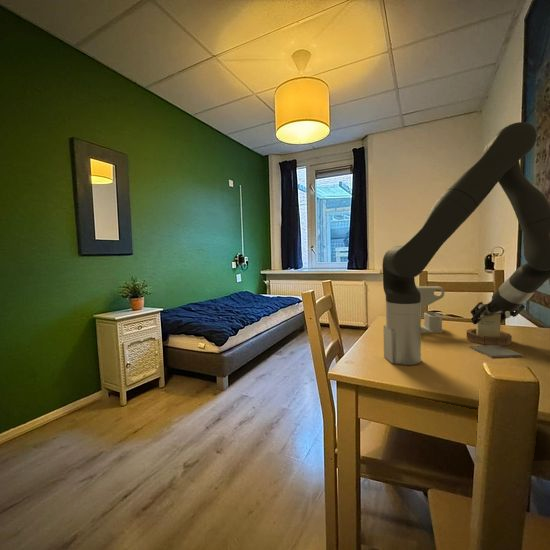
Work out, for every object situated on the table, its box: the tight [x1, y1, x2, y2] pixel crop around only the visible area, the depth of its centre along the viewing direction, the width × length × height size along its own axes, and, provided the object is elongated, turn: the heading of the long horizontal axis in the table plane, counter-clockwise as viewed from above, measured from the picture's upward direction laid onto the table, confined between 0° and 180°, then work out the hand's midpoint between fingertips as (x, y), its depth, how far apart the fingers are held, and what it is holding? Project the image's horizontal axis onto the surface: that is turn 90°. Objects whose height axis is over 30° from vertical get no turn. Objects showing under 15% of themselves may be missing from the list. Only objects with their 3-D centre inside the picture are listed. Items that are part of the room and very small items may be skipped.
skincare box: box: [476, 308, 501, 337], centre depth 99 cm, size 6×4×12 cm
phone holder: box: [416, 285, 445, 334], centre depth 116 cm, size 17×10×18 cm, turn 80°
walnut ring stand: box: [466, 328, 513, 347], centre depth 100 cm, size 12×12×2 cm
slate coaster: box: [469, 344, 523, 358], centre depth 88 cm, size 9×9×1 cm
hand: (485, 321), depth 101 cm, fingers open, 8 cm apart
